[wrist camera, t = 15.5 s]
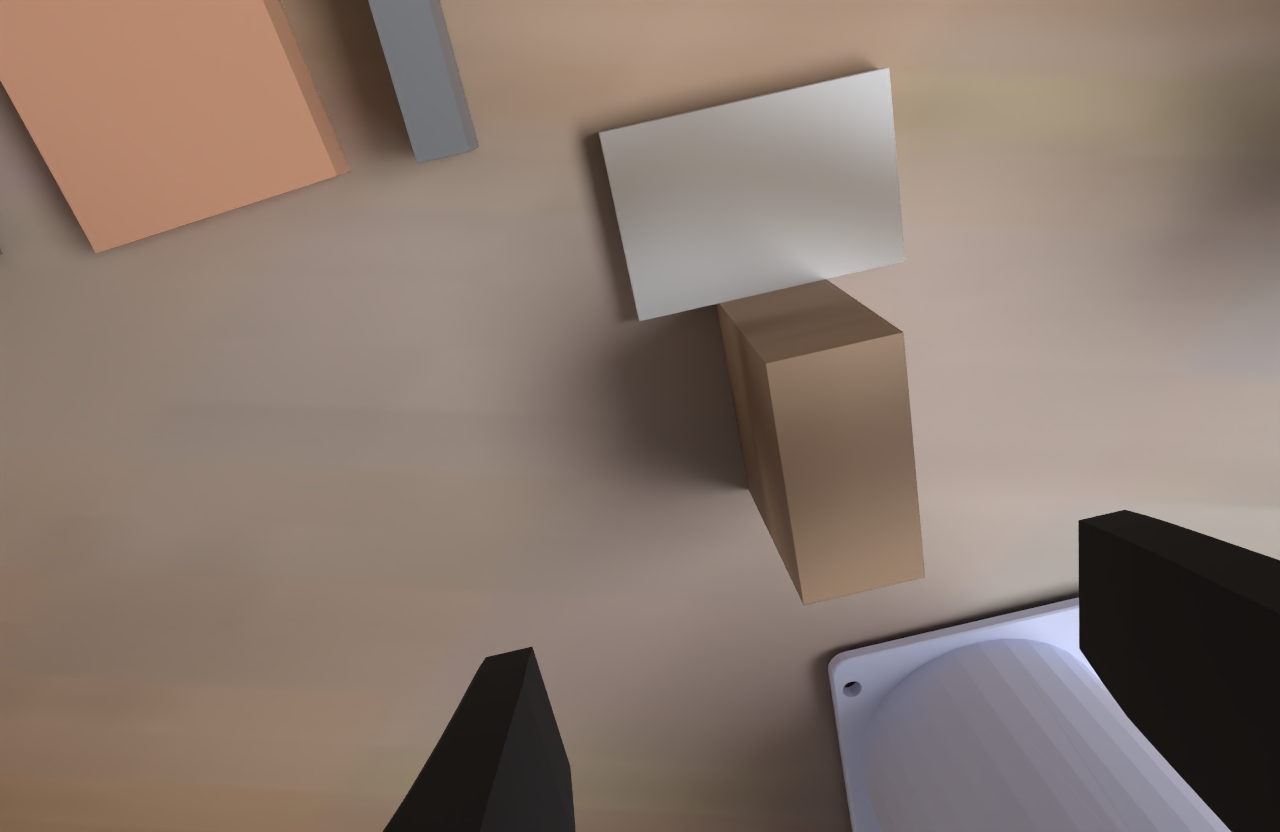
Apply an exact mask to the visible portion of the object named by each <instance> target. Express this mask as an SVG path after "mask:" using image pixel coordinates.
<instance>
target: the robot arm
mask: <svg viewBox="0 0 1280 832" xmlns="http://www.w3.org/2000/svg"><path fill="white" fill-rule="evenodd" d="M828 673H829V680H830V686H831V693H832V700H833V706H834V713H835V720H836V726H837V733H838V740H839V746H840V753H841V760H842V766H843V773H844V780H845V787H846V793H847V800H848V807H849V813H850V820H851V827H852V832H1280V560H1277V559H1274V558H1271V557H1268V556H1265V555H1262V554H1259V553H1256V552H1254V551H1251V550H1248V549H1245V548H1242V547H1239V546H1236V545H1233V544H1230V543H1227V542H1225V541H1222V540H1219V539H1216V538H1213V537H1210V536H1207V535H1204V534H1201V533H1198V532H1195V531H1192V530H1189V529H1186V528H1183V527H1180V526H1177V525H1174V524H1171V523H1168V522H1165V521H1162V520H1159V519H1156V518H1152V517H1149V516H1146V515H1142V514H1138V513H1135V512H1131V511H1127V510H1122V511H1118V512H1114V513H1109V514H1105V515H1101V516H1096V517H1092V518H1088V519H1083V520H1079V597H1078V598H1074V599H1069V600H1065V601H1061V602H1056V603H1052V604H1048V605H1044V606H1039V607H1035V608H1031V609H1026V610H1022V611H1018V612H1013V613H1009V614H1005V615H1000V616H996V617H992V618H987V619H983V620H979V621H974V622H970V623H966V624H962V625H957V626H953V627H949V628H944V629H940V630H936V631H931V632H927V633H923V634H918V635H914V636H910V637H905V638H901V639H897V640H892V641H888V642H884V643H880V644H875V645H871V646H867V647H862V648H858V649H854V650H849V651H845V652H842V653H840V654H837V655H836V656H835V657H834V658H832V660H831V661H830V663H829V667H828ZM852 681H856V682H855V683H854V685H852V686H850V687H844V686H845V685H846V684H847V683H849V682H852ZM383 832H575V820H574V806H573V794H572V782H571V771H570V765H569V761H568V758H567V755H566V752H565V749H564V746H563V742H562V739H561V736H560V733H559V730H558V727H557V723H556V720H555V717H554V714H553V711H552V708H551V704H550V701H549V698H548V695H547V692H546V689H545V685H544V682H543V679H542V676H541V673H540V670H539V667H538V663H537V660H536V657H535V654H534V651H533V648H532V647H529V648H525V649H520V650H516V651H512V652H507V653H503V654H499V655H494V656H490V657H486V658H485V660H484V661H483V663H482V664H481V666H480V667H479V669H478V671H477V673H476V674H475V676H474V678H473V680H472V682H471V683H470V685H469V687H468V689H467V691H466V693H465V695H464V696H463V698H462V700H461V702H460V704H459V706H458V708H457V709H456V711H455V713H454V715H453V717H452V718H451V720H450V722H449V724H448V726H447V727H446V729H445V731H444V733H443V735H442V736H441V738H440V740H439V742H438V743H437V745H436V747H435V748H434V750H433V752H432V753H431V755H430V757H429V759H428V760H427V762H426V764H425V765H424V767H423V769H422V770H421V772H420V774H419V775H418V777H417V779H416V780H415V782H414V784H413V786H412V787H411V789H410V790H409V792H408V794H407V795H406V797H405V799H404V800H403V802H402V803H401V805H400V806H399V808H398V809H397V811H396V812H395V814H394V815H393V817H392V819H391V820H390V822H389V823H388V825H387V826H386V828H385V829H384V831H383Z"/></svg>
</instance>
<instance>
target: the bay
mask: <svg viewBox="0 0 1280 832" xmlns="http://www.w3.org/2000/svg"><path fill="white" fill-rule="evenodd" d="M368 2H369V5H370V8H371V12H372V15H373V18H374V22H375V25H376V28H377V32H378V35H379V38H380V42H381V45H382V48H383V52H384V55H385V58H386V62H387V65H388V68H389V72H390V75H391V79H392V82H393V85H394V89H395V92H396V95H397V99H398V102H399V105H400V109H401V112H402V115H403V119H404V122H405V125H406V129H407V132H408V135H409V139H410V142H411V145H412V149H413V152H414V155H415V159H416V162H417V163H422V162H426V161H430V160H435V159H439V158H444V157H448V156H453V155H457V154H462V153H466V152H470V151H472V150H473V149H475V148H477V147H478V142H477V139H476V135H475V131H474V127H473V124H472V120H471V116H470V113H469V109H468V105H467V101H466V98H465V94H464V90H463V87H462V83H461V79H460V76H459V72H458V68H457V64H456V61H455V57H454V53H453V50H452V46H451V42H450V38H449V35H448V31H447V27H446V24H445V20H444V16H443V13H442V9H441V5H440V1H439V0H368ZM0 254H2V252H1V250H0Z"/></svg>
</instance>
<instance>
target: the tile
mask: <svg viewBox="0 0 1280 832" xmlns="http://www.w3.org/2000/svg"><path fill="white" fill-rule="evenodd" d="M0 81H1V82H2V84H3V86H4V88H5V90H6V92H7V93H8V95H9V97H10V99H11V101H12V102H13V104H14V106H15V108H16V110H17V111H18V113H19V115H20V117H21V119H22V120H23V122H24V124H25V126H26V128H27V130H28V131H29V133H30V135H31V137H32V139H33V140H34V142H35V144H36V146H37V148H38V149H39V151H40V153H41V155H42V157H43V159H44V160H45V162H46V164H47V166H48V168H49V169H50V171H51V173H52V175H53V177H54V178H55V180H56V182H57V184H58V186H59V187H60V189H61V191H62V193H63V195H64V197H65V198H66V200H67V202H68V204H69V206H70V207H71V209H72V211H73V213H74V215H75V216H76V218H77V220H78V222H79V224H80V225H81V227H82V229H83V231H84V233H85V235H86V236H87V238H88V240H89V242H90V244H91V245H92V247H93V249H94V251H95V253H99V252H102V251H105V250H109V249H112V248H115V247H118V246H121V245H124V244H127V243H130V242H133V241H137V240H140V239H143V238H146V237H149V236H152V235H155V234H158V233H161V232H165V231H168V230H171V229H174V228H177V227H180V226H183V225H186V224H189V223H193V222H196V221H199V220H202V219H205V218H208V217H211V216H214V215H217V214H220V213H224V212H227V211H230V210H233V209H236V208H239V207H242V206H245V205H248V204H252V203H255V202H258V201H261V200H264V199H267V198H270V197H273V196H276V195H280V194H283V193H286V192H289V191H292V190H295V189H298V188H301V187H304V186H308V185H311V184H314V183H317V182H320V181H323V180H326V179H329V178H332V177H336V176H339V175H342V174H345V173H348V172H351V170H350V168H349V165H348V163H347V161H346V158H345V156H344V154H343V151H342V149H341V146H340V144H339V142H338V139H337V137H336V134H335V132H334V130H333V127H332V125H331V122H330V120H329V118H328V115H327V113H326V110H325V108H324V106H323V103H322V101H321V98H320V96H319V94H318V91H317V89H316V87H315V84H314V82H313V79H312V77H311V75H310V72H309V70H308V67H307V65H306V63H305V60H304V58H303V55H302V53H301V51H300V48H299V46H298V43H297V41H296V39H295V36H294V34H293V31H292V29H291V27H290V24H289V22H288V20H287V17H286V15H285V12H284V10H283V8H282V5H281V3H280V0H0Z"/></svg>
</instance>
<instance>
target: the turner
mask: <svg viewBox="0 0 1280 832" xmlns="http://www.w3.org/2000/svg"><path fill="white" fill-rule="evenodd" d="M598 134H599V139H600V144H601V148H602V153H603V158H604V162H605V167H606V171H607V176H608V181H609V185H610V190H611V195H612V199H613V204H614V209H615V213H616V218H617V223H618V227H619V232H620V236H621V241H622V246H623V250H624V255H625V260H626V264H627V269H628V274H629V278H630V283H631V288H632V292H633V297H634V302H635V306H636V311H637V315H638V318H639V321H643V320H648V319H652V318H657V317H661V316H665V315H670V314H674V313H679V312H683V311H688V310H692V309H696V308H701V307H705V306H710V305H714V304H716V307H717V312H718V318H719V323H720V329H721V335H722V340H723V346H724V352H725V357H726V363H727V369H728V374H729V380H730V386H731V391H732V397H733V403H734V408H735V414H736V420H737V425H738V431H739V437H740V442H741V448H742V454H743V459H744V465H745V471H746V476H747V482H748V488H749V491H750V493H751V495H752V497H753V499H754V502H755V504H756V506H757V508H758V510H759V512H760V514H761V516H762V518H763V520H764V523H765V525H766V527H767V529H768V531H769V533H770V535H771V537H772V539H773V541H774V544H775V546H776V548H777V550H778V552H779V554H780V556H781V558H782V560H783V562H784V565H785V567H786V569H787V571H788V573H789V575H790V577H791V579H792V581H793V583H794V586H795V588H796V590H797V592H798V594H799V596H800V598H801V600H802V602H803V604H804V605H806V604H811V603H815V602H819V601H824V600H828V599H832V598H837V597H841V596H845V595H850V594H854V593H859V592H863V591H867V590H872V589H876V588H880V587H885V586H889V585H893V584H898V583H902V582H907V581H911V580H915V579H920V578H924V577H925V571H924V560H923V548H922V537H921V526H920V514H919V503H918V492H917V481H916V469H915V458H914V447H913V435H912V424H911V413H910V402H909V390H908V379H907V368H906V357H905V345H904V334H903V332H902V331H901V330H899V329H898V328H896V327H895V326H893V325H892V324H890V323H889V322H888V321H886V320H885V319H883V318H882V317H880V316H879V315H877V314H876V313H874V312H873V311H871V310H870V309H869V308H867V307H866V306H864V305H863V304H861V303H860V302H858V301H857V300H855V299H854V298H853V297H851V296H850V295H848V294H847V293H845V292H844V291H842V290H841V289H839V288H838V287H837V286H835V285H834V284H832V283H831V282H829V281H828V280H826V279H829V278H833V277H837V276H842V275H846V274H851V273H855V272H859V271H864V270H868V269H873V268H877V267H882V266H886V265H890V264H895V263H899V262H904V261H905V250H904V239H903V227H902V215H901V203H900V191H899V180H898V168H897V156H896V144H895V132H894V121H893V109H892V97H891V85H890V73H889V68H880V69H875V70H870V71H866V72H861V73H857V74H853V75H848V76H844V77H839V78H835V79H830V80H826V81H821V82H817V83H813V84H808V85H804V86H799V87H795V88H790V89H786V90H782V91H777V92H773V93H768V94H764V95H759V96H755V97H750V98H746V99H742V100H737V101H733V102H728V103H724V104H719V105H715V106H711V107H706V108H702V109H697V110H693V111H688V112H684V113H679V114H675V115H671V116H666V117H662V118H657V119H653V120H648V121H644V122H639V123H635V124H631V125H626V126H622V127H617V128H613V129H608V130H604V131H600V132H598Z"/></svg>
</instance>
